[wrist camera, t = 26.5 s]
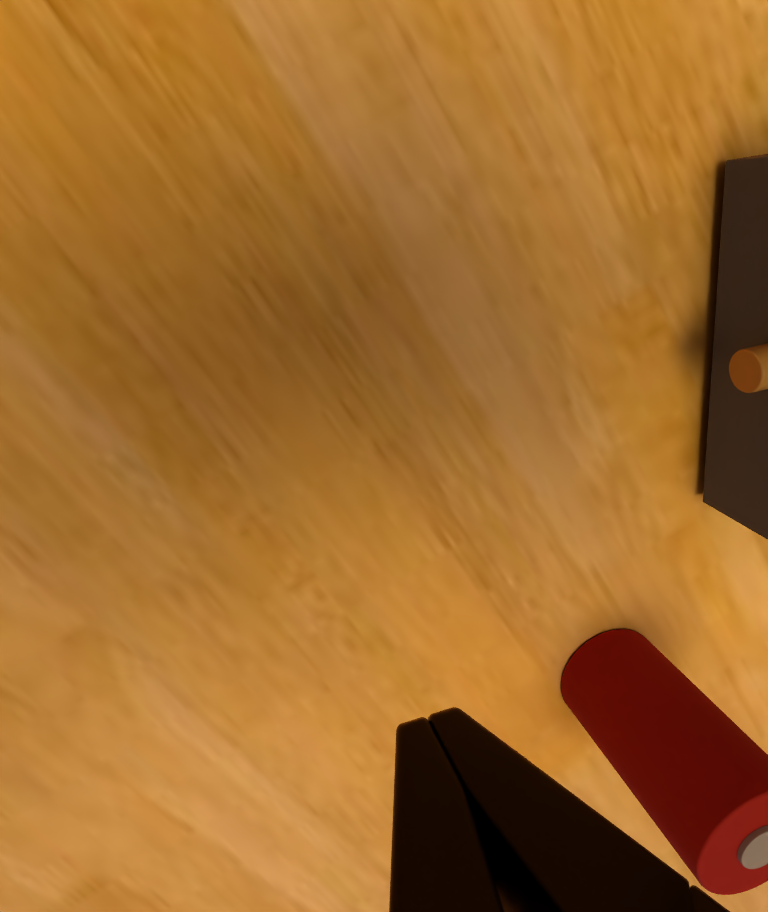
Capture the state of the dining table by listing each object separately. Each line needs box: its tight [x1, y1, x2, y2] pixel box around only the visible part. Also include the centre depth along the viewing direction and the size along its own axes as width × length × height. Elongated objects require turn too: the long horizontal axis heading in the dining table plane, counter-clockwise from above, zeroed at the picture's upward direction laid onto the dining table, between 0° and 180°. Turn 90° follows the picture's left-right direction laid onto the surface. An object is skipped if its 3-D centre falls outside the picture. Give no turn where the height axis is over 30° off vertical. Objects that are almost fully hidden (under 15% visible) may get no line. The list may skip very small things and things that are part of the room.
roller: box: [561, 629, 768, 895], centre depth 24 cm, size 4×4×8 cm
